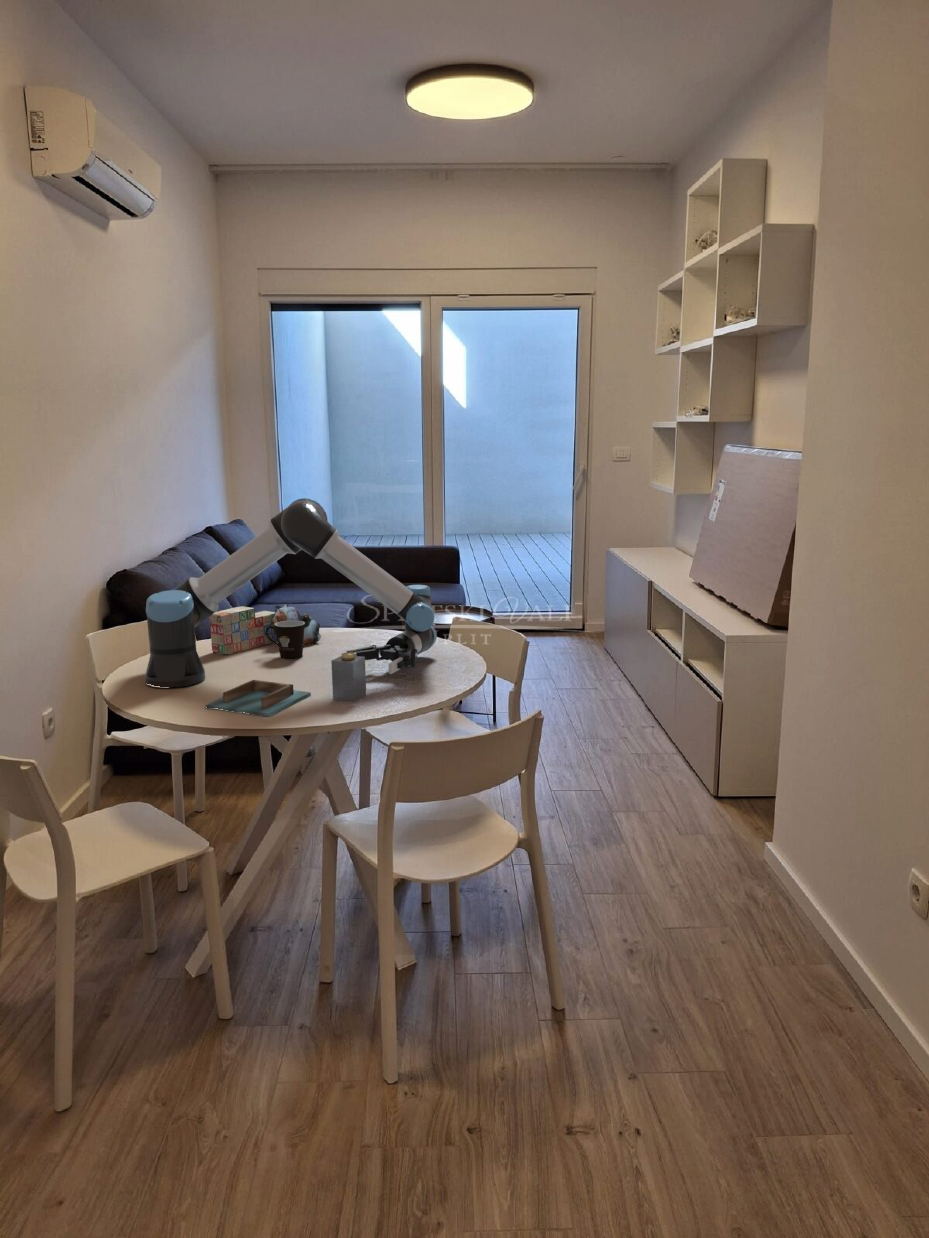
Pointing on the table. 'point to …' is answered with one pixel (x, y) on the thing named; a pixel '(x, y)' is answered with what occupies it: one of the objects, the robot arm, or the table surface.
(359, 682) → the grey block with knob
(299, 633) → the coffee mug
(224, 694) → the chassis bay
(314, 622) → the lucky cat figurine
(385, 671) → the table surface
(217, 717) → the table surface
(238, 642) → the stack of blocks
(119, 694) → the table surface
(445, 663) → the table surface
